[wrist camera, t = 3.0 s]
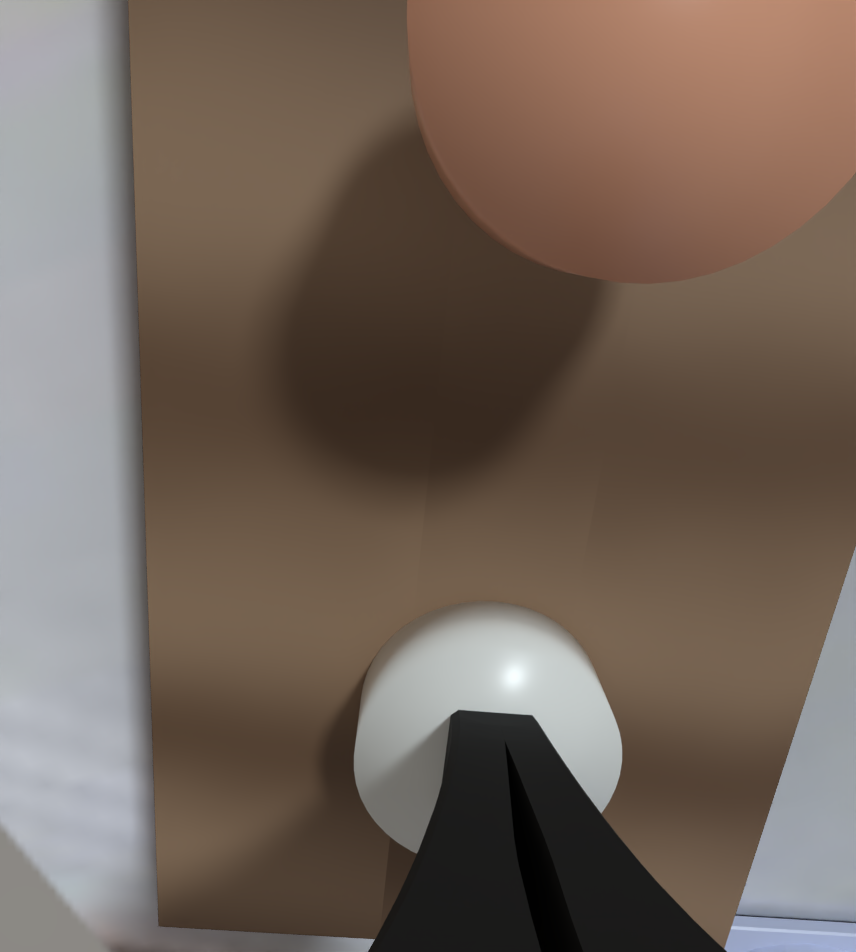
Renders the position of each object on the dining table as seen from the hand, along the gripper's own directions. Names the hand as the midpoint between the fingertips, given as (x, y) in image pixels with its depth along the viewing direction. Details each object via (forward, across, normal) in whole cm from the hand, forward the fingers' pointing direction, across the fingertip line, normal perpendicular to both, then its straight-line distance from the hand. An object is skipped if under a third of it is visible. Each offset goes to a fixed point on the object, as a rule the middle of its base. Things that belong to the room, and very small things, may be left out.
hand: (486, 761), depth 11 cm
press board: (+4, 0, -5) cm, 7 cm away
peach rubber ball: (+1, 0, -10) cm, 10 cm away
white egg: (+4, 0, 0) cm, 4 cm away
